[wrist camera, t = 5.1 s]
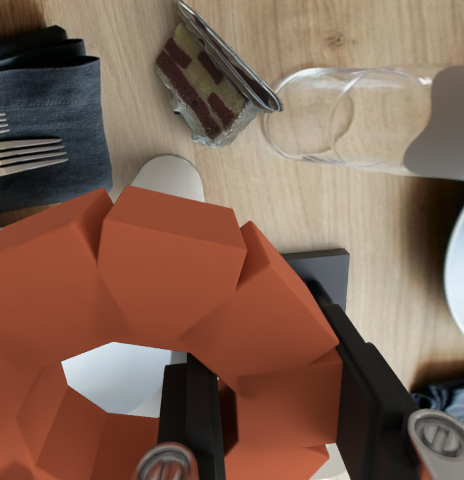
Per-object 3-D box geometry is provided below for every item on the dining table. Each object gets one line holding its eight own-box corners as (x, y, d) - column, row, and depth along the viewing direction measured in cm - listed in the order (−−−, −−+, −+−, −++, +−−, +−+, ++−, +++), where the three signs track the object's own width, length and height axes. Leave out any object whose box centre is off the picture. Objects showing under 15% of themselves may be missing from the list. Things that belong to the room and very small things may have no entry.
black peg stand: (273, 254, 39) (304, 314, 28) (344, 248, 40) (400, 303, 29) (273, 317, 42) (302, 391, 31) (340, 309, 43) (389, 380, 32)
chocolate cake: (122, 60, 31) (176, 162, 26) (170, -14, 28) (241, 88, 23) (196, 100, 39) (248, 184, 34) (241, 45, 35) (304, 130, 31)
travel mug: (217, 187, 36) (247, 284, 17) (168, 229, 37) (146, 363, 18) (174, 137, 33) (154, 187, 15) (123, 183, 34) (46, 283, 16)
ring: (-105, 201, 9) (-225, 246, 6) (317, 170, 10) (362, 199, 7) (19, 490, 13) (-22, 586, 11) (304, 452, 14) (330, 533, 12)
